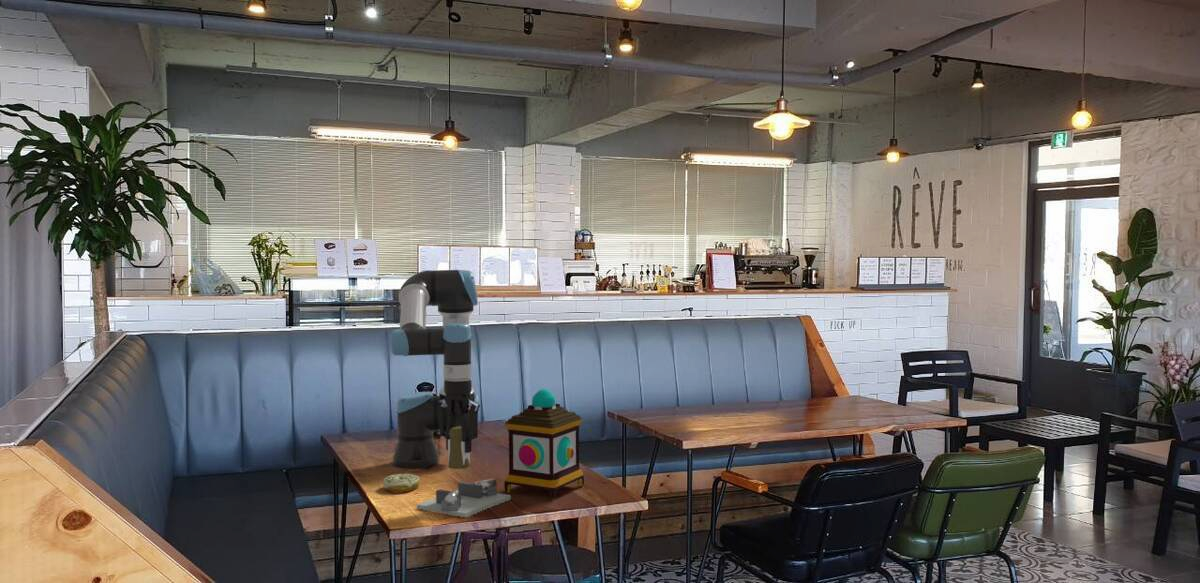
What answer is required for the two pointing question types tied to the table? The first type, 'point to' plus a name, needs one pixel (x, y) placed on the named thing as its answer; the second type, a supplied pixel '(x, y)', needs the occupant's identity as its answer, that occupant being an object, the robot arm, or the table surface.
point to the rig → (465, 500)
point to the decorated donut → (401, 482)
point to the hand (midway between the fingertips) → (459, 462)
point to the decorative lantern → (544, 446)
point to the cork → (456, 449)
